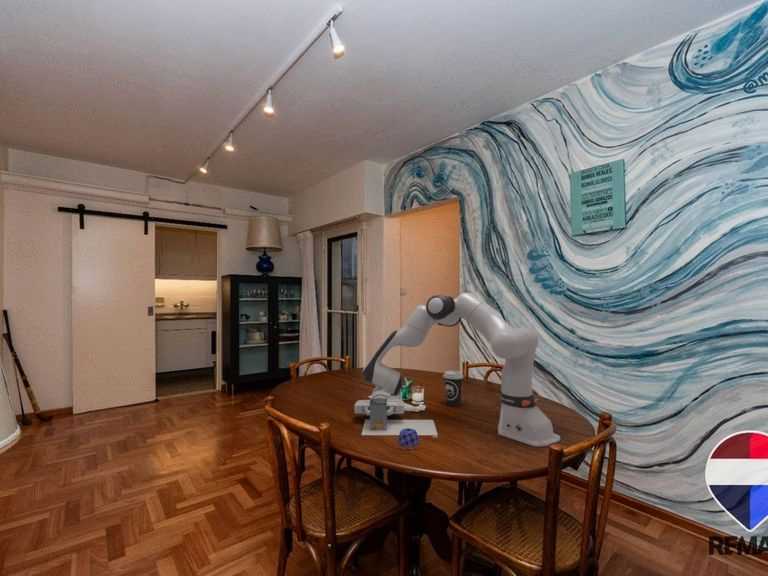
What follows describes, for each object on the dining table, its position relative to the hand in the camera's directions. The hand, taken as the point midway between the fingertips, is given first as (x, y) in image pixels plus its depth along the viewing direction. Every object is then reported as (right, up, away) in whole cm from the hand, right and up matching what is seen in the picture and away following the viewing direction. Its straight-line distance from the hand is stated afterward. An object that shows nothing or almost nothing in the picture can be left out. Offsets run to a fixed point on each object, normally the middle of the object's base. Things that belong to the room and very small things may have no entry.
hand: (378, 413), depth 139 cm
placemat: (+8, -7, +1) cm, 10 cm away
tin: (0, -6, +1) cm, 6 cm away
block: (0, -6, +1) cm, 6 cm away
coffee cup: (+35, -7, +32) cm, 48 cm away
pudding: (+11, -7, -14) cm, 19 cm away
